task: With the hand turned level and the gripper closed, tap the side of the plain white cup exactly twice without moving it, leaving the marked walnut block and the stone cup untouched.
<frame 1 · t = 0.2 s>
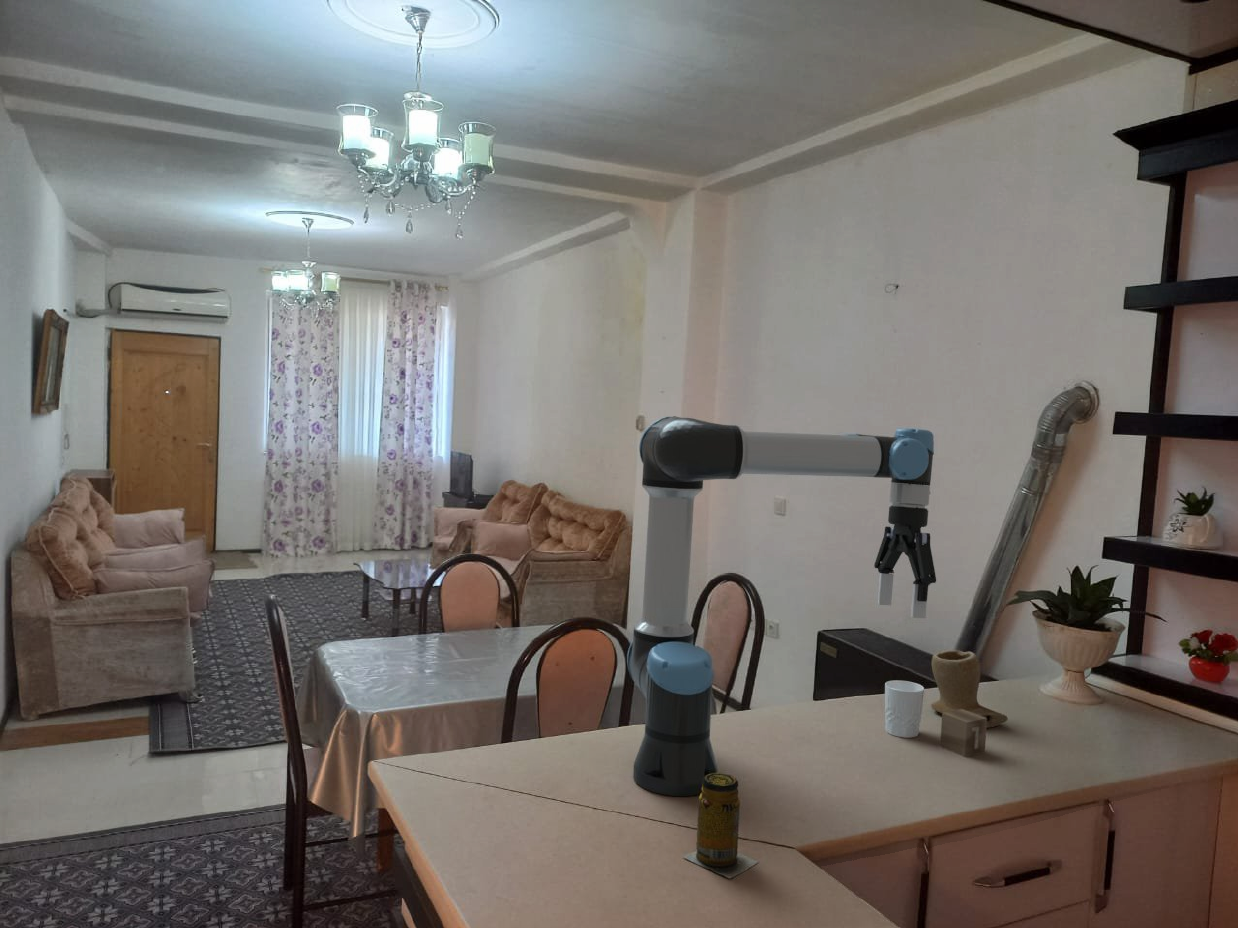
hand: (900, 611, 179), 28 cm above the counter, tool pointing down, fingers open, 13 cm apart
condiment: (720, 861, 131), on the counter
white cup: (901, 733, 188), on the counter
stone cup: (961, 720, 198), on the counter
marked walnut block: (962, 749, 180), on the counter
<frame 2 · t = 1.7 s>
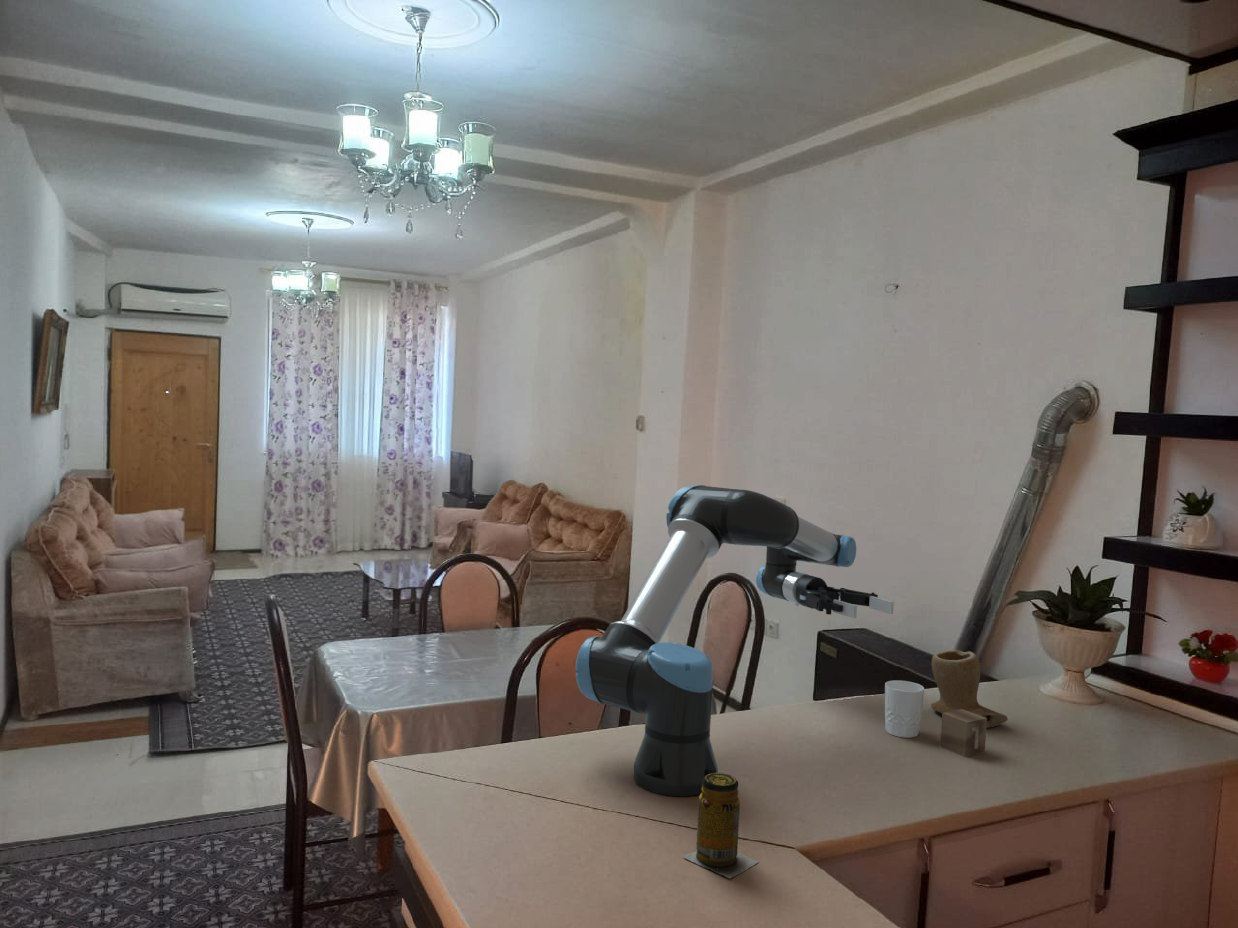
hand: (874, 609, 195), 24 cm above the counter, tool horizontal, fingers open, 10 cm apart
nothing on the counter moved.
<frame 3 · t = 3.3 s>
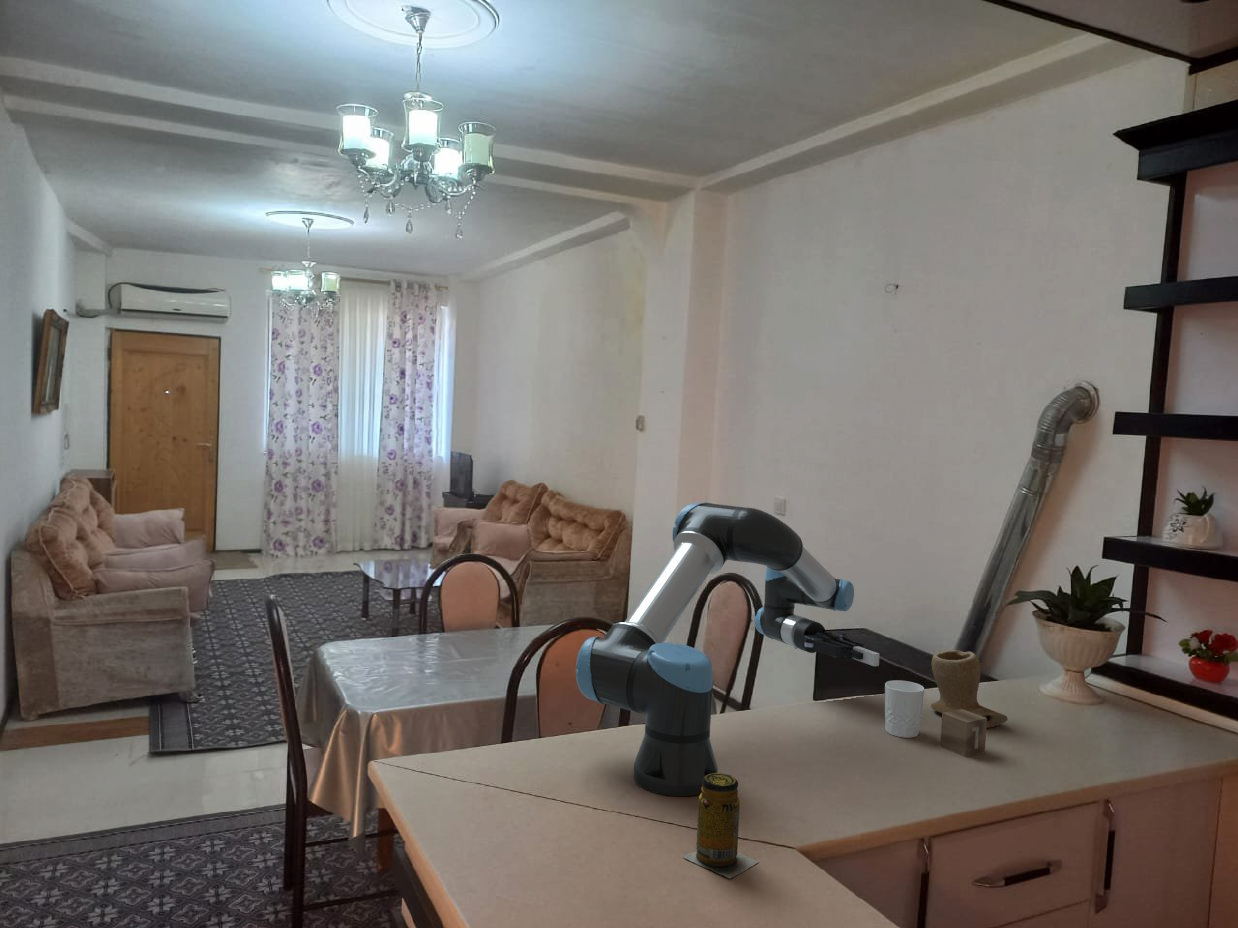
hand: (876, 659, 195), 13 cm above the counter, tool horizontal, fingers closed
nothing on the counter moved.
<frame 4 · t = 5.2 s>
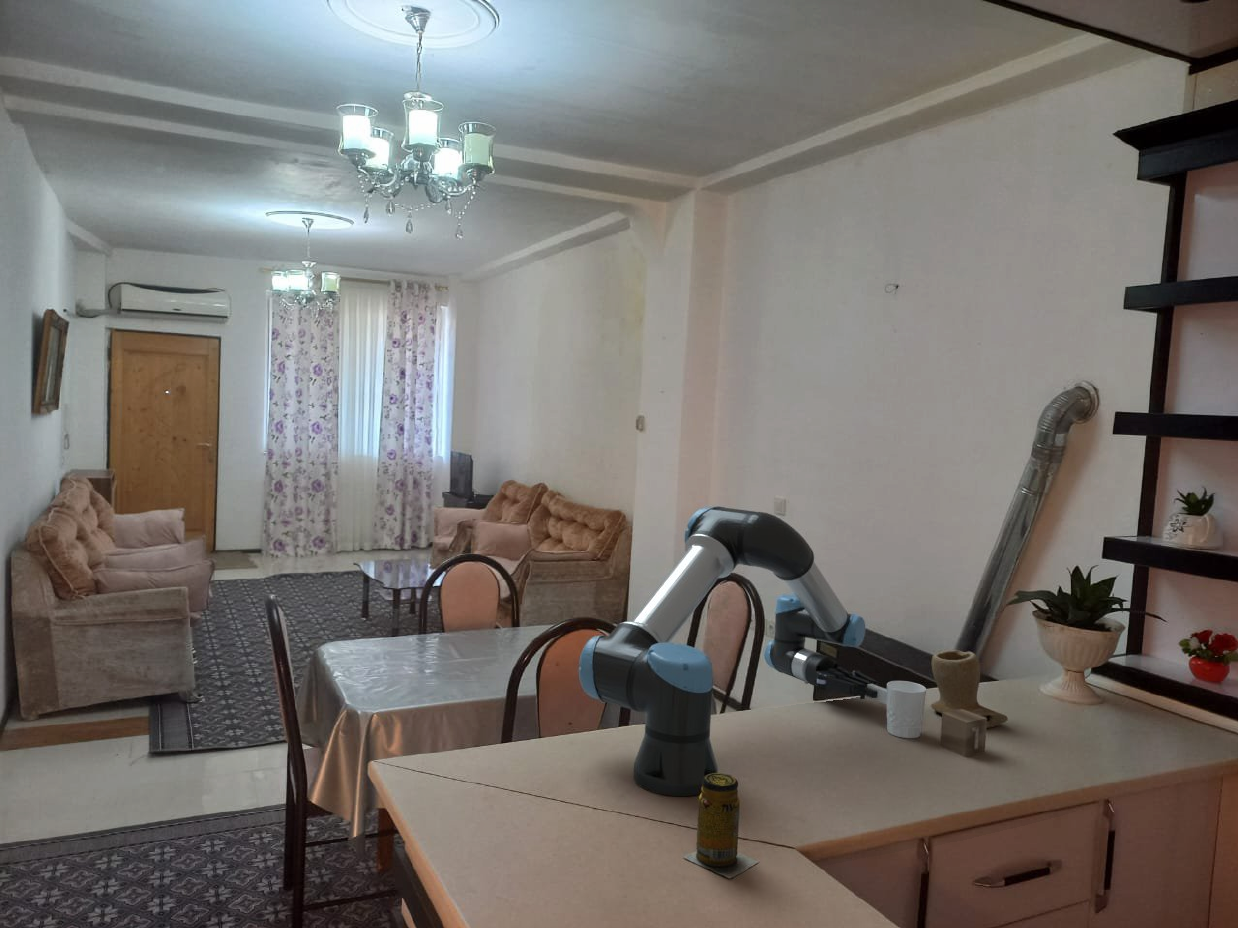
hand: (891, 698, 191), 6 cm above the counter, tool horizontal, fingers closed
white cup: (903, 733, 188), on the counter, touching gripper
everything else where it was.
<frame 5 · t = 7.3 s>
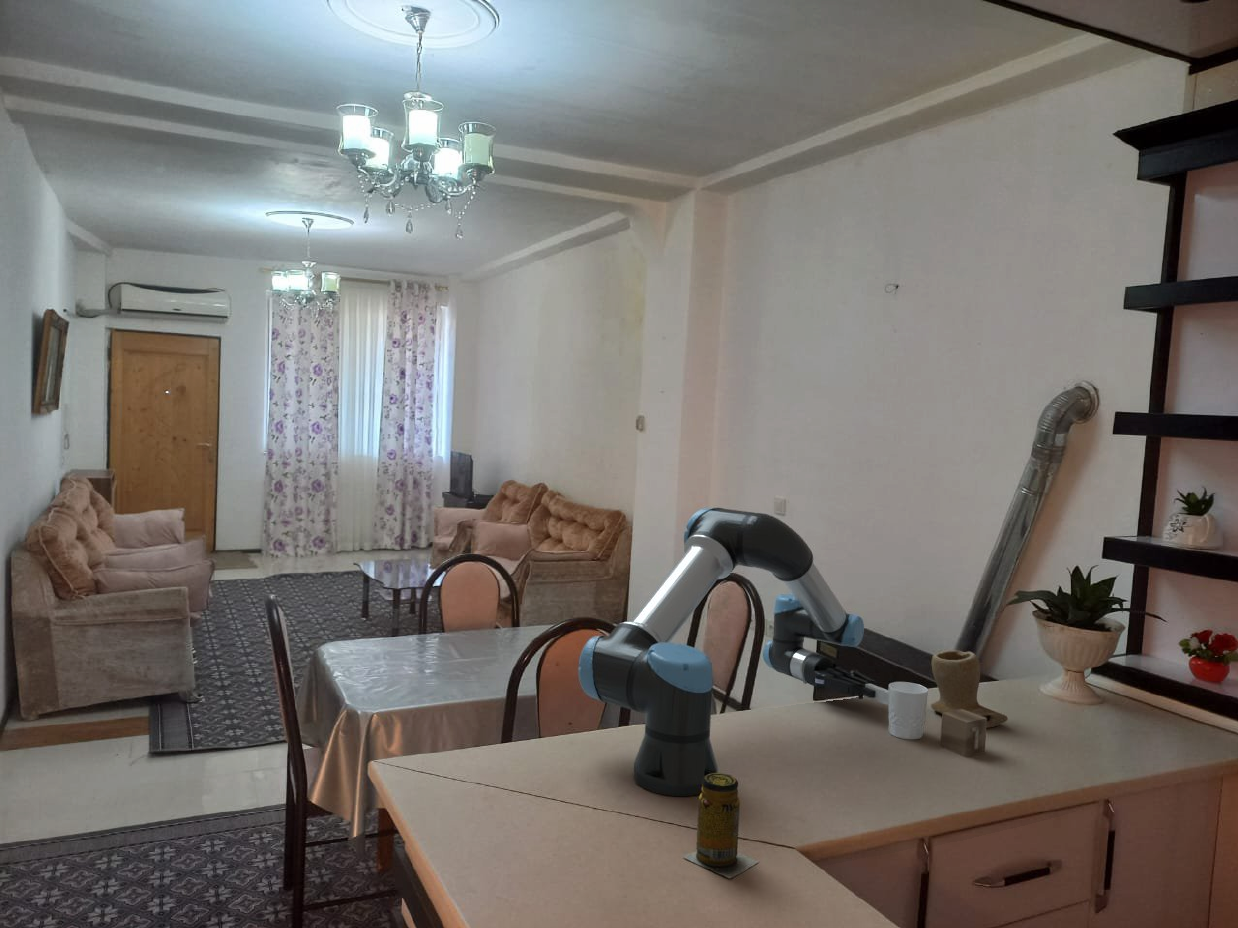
hand: (889, 698, 192), 6 cm above the counter, tool horizontal, fingers closed
white cup: (905, 734, 187), on the counter
everything else where it was.
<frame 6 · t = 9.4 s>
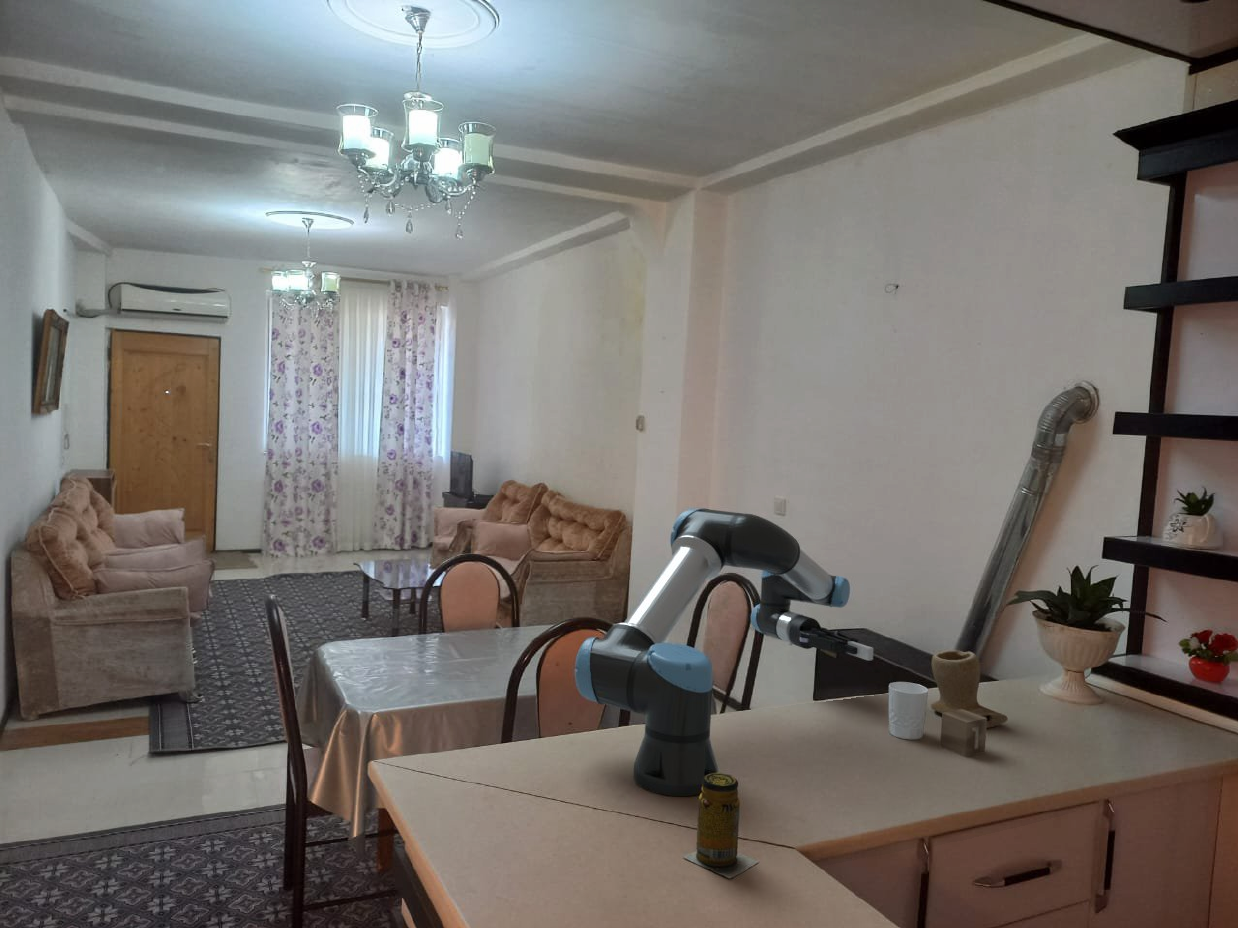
hand: (870, 654, 197), 14 cm above the counter, tool horizontal, fingers closed
nothing on the counter moved.
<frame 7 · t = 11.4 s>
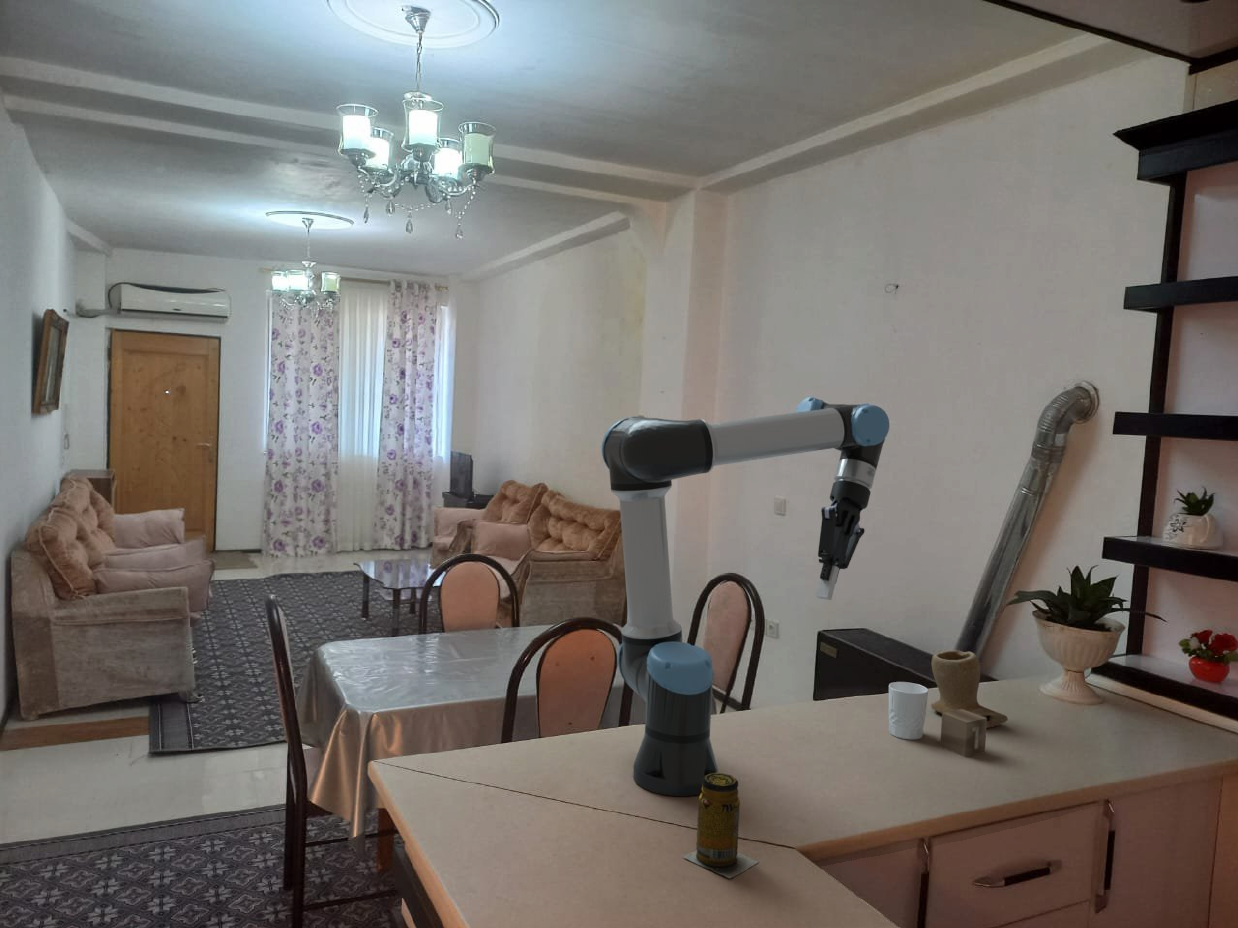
hand: (823, 597, 173), 31 cm above the counter, tool tilted 25°, fingers closed
nothing on the counter moved.
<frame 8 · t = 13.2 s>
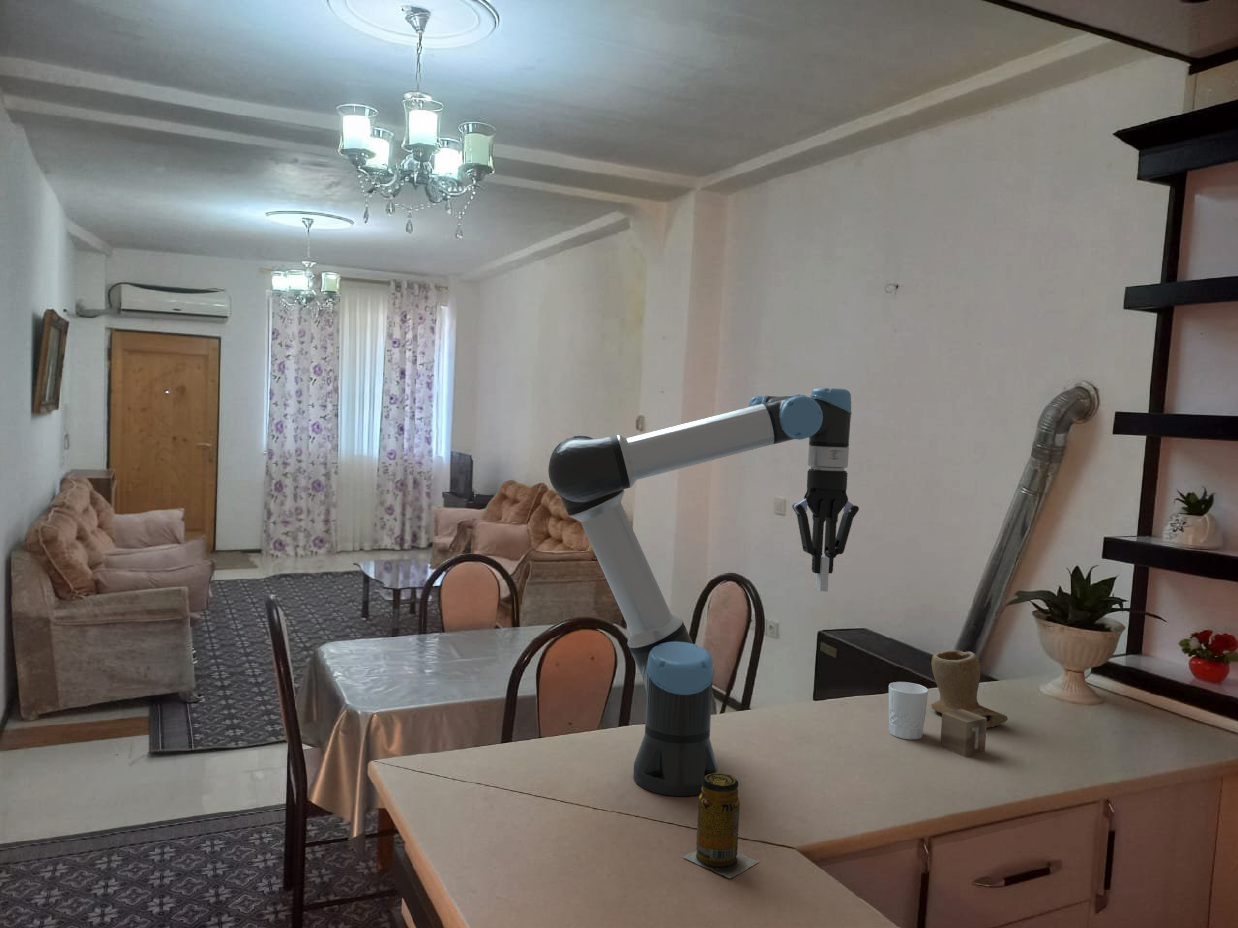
hand: (821, 589, 173), 32 cm above the counter, tool pointing down, fingers closed
nothing on the counter moved.
at the end: white cup moved 1.2 cm from its start; white cup tilted 0°; marked walnut block moved 0.1 cm from its start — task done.
